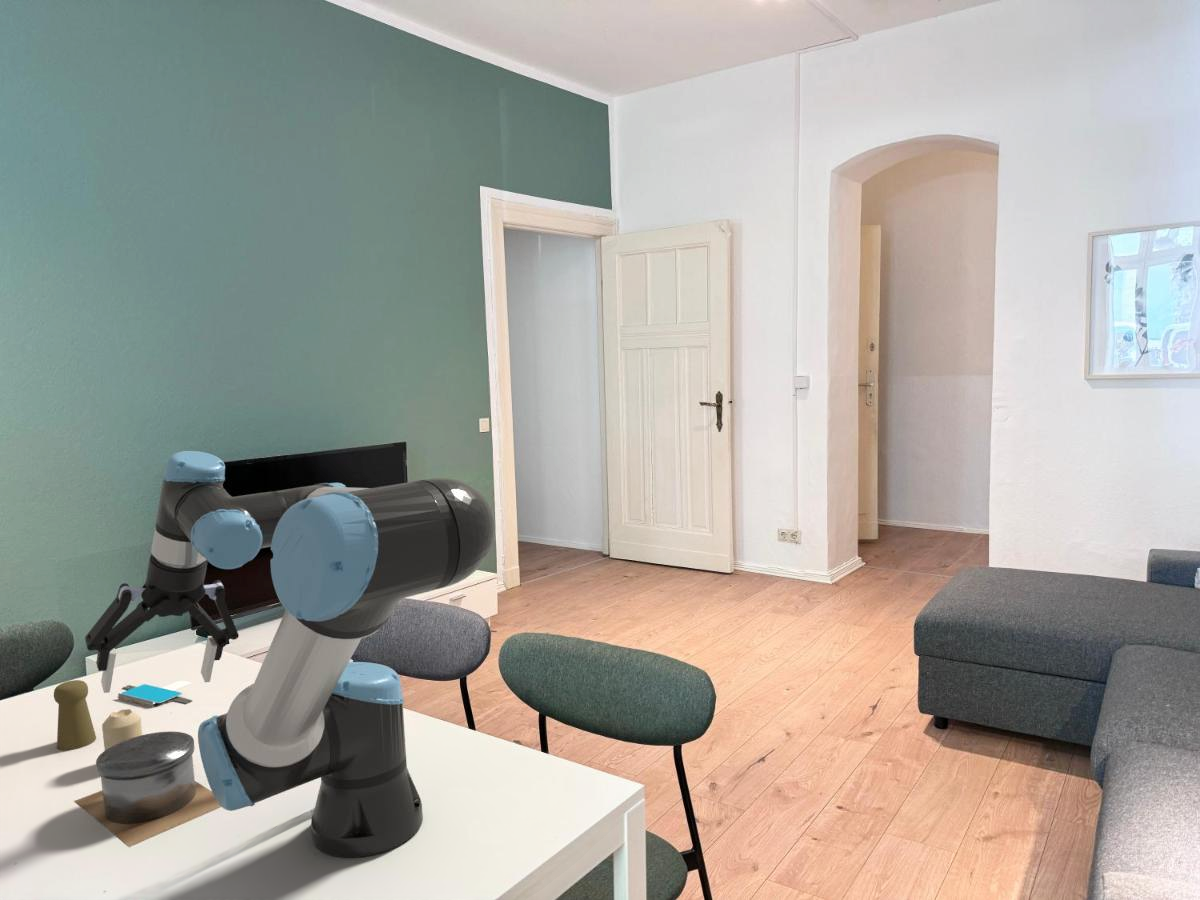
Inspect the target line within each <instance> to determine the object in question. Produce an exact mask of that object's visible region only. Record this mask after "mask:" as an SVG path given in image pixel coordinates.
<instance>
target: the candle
mask: <svg viewBox="0 0 1200 900" xmlns="http://www.w3.org/2000/svg"><path fill="white" fill-rule="evenodd" d="M141 718H142V717H141V716H140V715H139V714H138V713H136V712H134V711H133V710H132V709H130V708H129V709H121V710H118V711H117V712H116V711H113V712H111V713H110V715H108V717H107V718H106V719H105V720H104V722H103V723H102V724H101V728H102V729H101V730H102V737H103V747H104V751H105V750H107V749H108V748H110V747H112V746H113V745H115V744H118V743H120V742H122V741H125V740H128V739H131V738H134V737H137V736H141V735H143V729H142V721H141V720H142V719H141Z"/></svg>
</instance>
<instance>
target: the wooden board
mask: <svg viewBox="0 0 1200 900" xmlns="http://www.w3.org/2000/svg"><path fill="white" fill-rule="evenodd" d="M195 789H196V794H195V796H194V798H193V799H192V801H191V802H190V803H188V804H187V805H186V806H185V807H183V808H182V809H180V810H178V811H176V812H174V813H172V814H170V815H168V816H165V817H162V818H159V819H156V820H152V821H148V822H143V823H136V824H118V823H114V822H111V821H109V820H108V819H107V818H106V816H105V810H104V801H103V792H102V790H99V791H97V792H94V793H91V794H90V795H86V796H84V797H81V798H78V799H75V800H74V801H73V802H75V804H77V805H78V806H79V807H80V808H81V809H83V810H84V811H85V812H86V813H88V814H89V815H90V816H91V817H92V818H93V819H95V820H96V821H97V822H98V823H100V824H101V825H102V826H103V827H105V829H107V830H108V831H109V832H111V833H112V835H114V836H116V838H118V839H119V840H120V841H121V842H123V843H124V844H125V845H126V846H127V847H128V848H131V847H133V846H135V845H137V844H140V843H142V842H145V841H146V840H148V839H151V838H153V837H156V836H158V835H160V834H163V833H165V832H168V831H170V830H172V829H174V828H176V827H178V826H181V825H183V824H186V823H188V822H190V821H192V820H195V819H197V818H200V817H202V816H204V815H206V814H209V813H210V812H213V811H216V810H218V809H220V808H222V807H221V806H220V805H219V803H218V802H217V800H216V798H215V797H214V795H213V792H212V790H211V789H209V788H207V787H206V786H204V785H202V784H201V783H199V782H197V781H196V780H195Z"/></svg>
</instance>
